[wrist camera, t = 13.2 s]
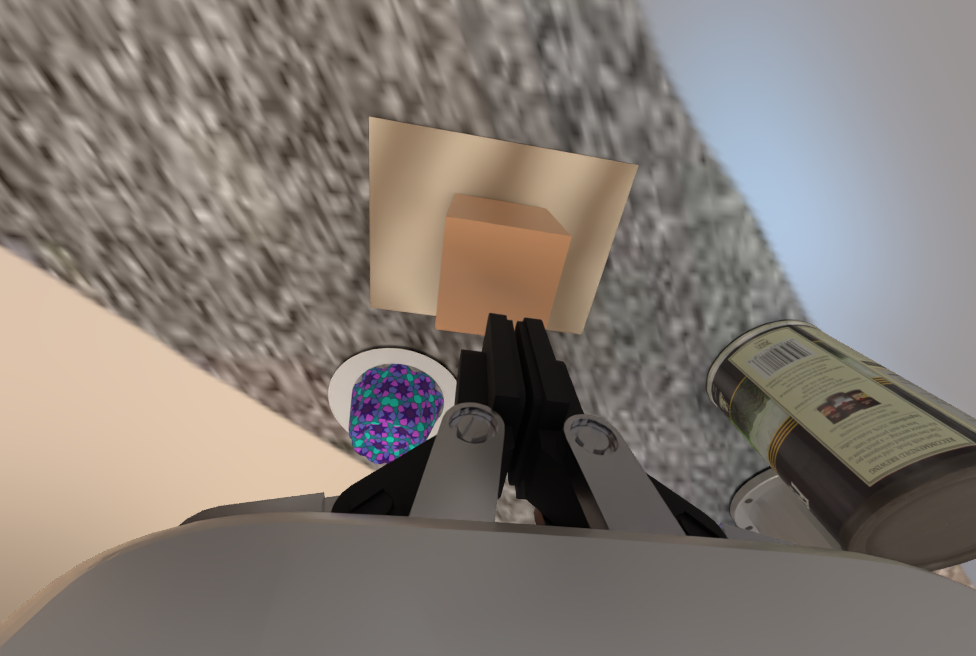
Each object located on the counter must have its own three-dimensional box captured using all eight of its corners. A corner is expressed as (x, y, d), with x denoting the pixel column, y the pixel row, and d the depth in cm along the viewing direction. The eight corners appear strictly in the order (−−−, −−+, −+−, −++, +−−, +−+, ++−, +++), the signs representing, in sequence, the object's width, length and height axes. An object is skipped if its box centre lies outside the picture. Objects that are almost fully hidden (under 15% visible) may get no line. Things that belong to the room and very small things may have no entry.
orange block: (546, 208, 21) (571, 236, 15) (526, 292, 24) (542, 342, 18) (455, 193, 21) (445, 216, 15) (445, 280, 23) (434, 328, 18)
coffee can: (761, 426, 34) (919, 590, 22) (681, 391, 32) (809, 554, 20) (854, 346, 30) (1119, 496, 18) (770, 299, 27) (1008, 434, 15)
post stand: (629, 163, 22) (704, 177, 15) (576, 325, 28) (612, 393, 21) (375, 117, 21) (318, 108, 13) (375, 298, 27) (335, 362, 19)
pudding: (472, 351, 30) (471, 391, 25) (456, 450, 35) (453, 497, 31) (326, 335, 28) (297, 373, 24) (335, 439, 34) (313, 486, 30)
